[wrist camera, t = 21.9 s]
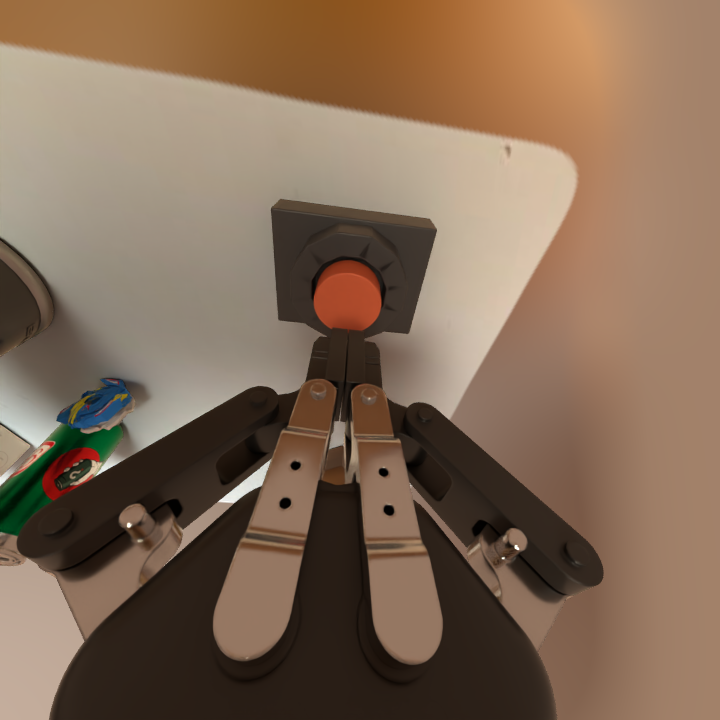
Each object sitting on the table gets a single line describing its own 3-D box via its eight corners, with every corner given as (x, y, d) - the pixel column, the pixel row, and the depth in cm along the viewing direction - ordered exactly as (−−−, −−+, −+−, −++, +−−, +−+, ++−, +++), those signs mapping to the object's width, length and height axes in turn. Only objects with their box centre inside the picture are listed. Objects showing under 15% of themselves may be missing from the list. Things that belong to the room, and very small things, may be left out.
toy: (139, 373, 26) (101, 418, 22) (160, 400, 28) (128, 445, 24) (88, 378, 26) (41, 422, 23) (112, 404, 29) (74, 448, 25)
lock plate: (278, 465, 36) (273, 486, 34) (342, 445, 33) (341, 467, 31) (323, 499, 41) (321, 519, 39) (381, 484, 38) (382, 505, 36)
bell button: (316, 314, 18) (312, 330, 17) (318, 255, 16) (313, 268, 14) (374, 320, 18) (375, 336, 17) (384, 263, 16) (387, 277, 15)
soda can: (73, 400, 28) (-66, 538, 19) (131, 420, 30) (30, 554, 21) (69, 427, 31) (-55, 559, 22) (122, 443, 33) (29, 571, 24)
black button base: (284, 304, 22) (271, 336, 18) (279, 198, 17) (261, 216, 14) (405, 317, 22) (412, 350, 19) (430, 218, 18) (444, 240, 15)
